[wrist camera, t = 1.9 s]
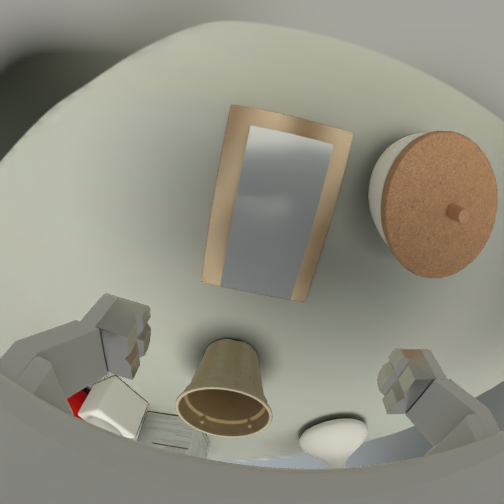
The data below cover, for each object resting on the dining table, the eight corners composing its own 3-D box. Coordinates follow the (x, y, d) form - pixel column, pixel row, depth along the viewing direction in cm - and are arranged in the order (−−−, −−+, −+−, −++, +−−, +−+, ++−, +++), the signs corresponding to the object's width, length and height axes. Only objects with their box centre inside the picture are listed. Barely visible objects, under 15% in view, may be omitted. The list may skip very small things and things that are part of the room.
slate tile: (326, 143, 21) (333, 144, 18) (288, 285, 26) (290, 299, 24) (252, 126, 20) (250, 125, 18) (224, 272, 26) (220, 286, 23)
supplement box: (146, 410, 38) (115, 494, 22) (199, 416, 37) (179, 511, 22) (163, 437, 42) (141, 511, 26) (210, 443, 41) (196, 523, 25)
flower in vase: (356, 402, 34) (383, 557, 11) (372, 430, 38) (395, 551, 15) (276, 429, 38) (273, 571, 15) (304, 452, 41) (308, 568, 18)
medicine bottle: (124, 409, 39) (101, 463, 28) (93, 383, 37) (64, 437, 26) (149, 403, 37) (126, 464, 26) (116, 374, 35) (84, 436, 24)
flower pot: (289, 349, 30) (293, 410, 22) (245, 391, 34) (240, 445, 26) (215, 312, 29) (199, 372, 21) (181, 361, 32) (162, 415, 24)
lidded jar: (328, 174, 23) (363, 199, 14) (413, 108, 19) (478, 103, 11) (389, 262, 25) (431, 316, 17) (462, 199, 22) (522, 231, 14)
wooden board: (350, 133, 21) (353, 133, 20) (303, 296, 27) (304, 302, 26) (232, 105, 21) (231, 104, 20) (203, 276, 27) (201, 281, 26)
